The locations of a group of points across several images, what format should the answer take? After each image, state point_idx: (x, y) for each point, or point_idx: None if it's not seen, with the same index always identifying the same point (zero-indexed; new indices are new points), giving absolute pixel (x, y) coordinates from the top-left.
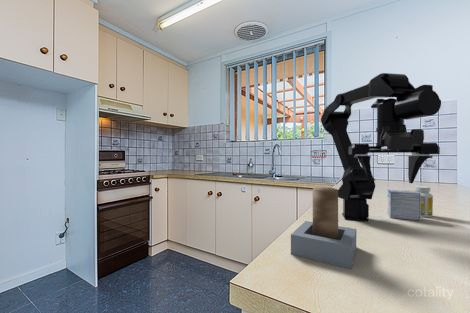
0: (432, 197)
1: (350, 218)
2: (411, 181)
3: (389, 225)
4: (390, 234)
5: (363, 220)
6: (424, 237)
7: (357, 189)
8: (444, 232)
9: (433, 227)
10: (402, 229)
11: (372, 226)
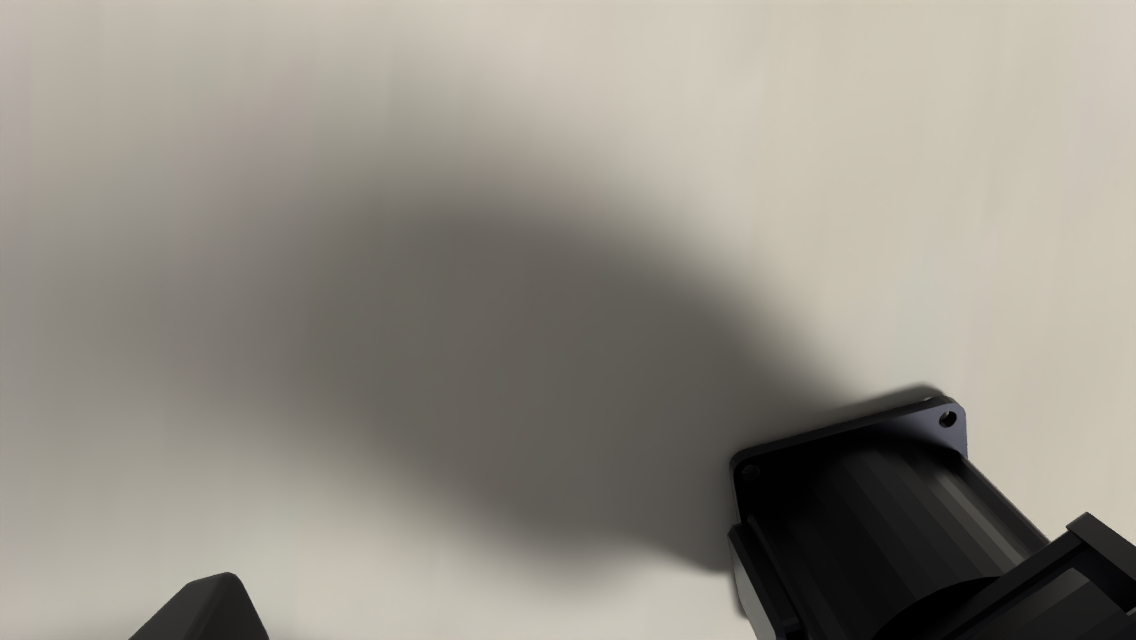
0: None
1: (908, 411)
2: (209, 594)
3: (535, 429)
4: (547, 90)
5: (776, 442)
6: (233, 177)
7: (1090, 609)
8: (54, 471)
9: (144, 590)
10: (422, 353)
11: (700, 295)
